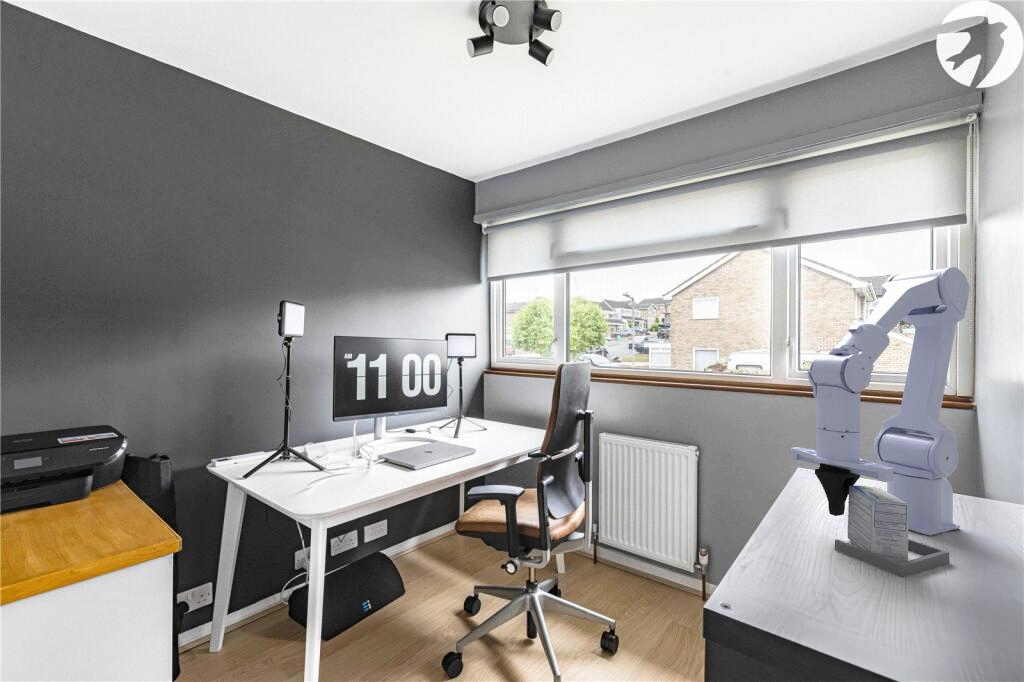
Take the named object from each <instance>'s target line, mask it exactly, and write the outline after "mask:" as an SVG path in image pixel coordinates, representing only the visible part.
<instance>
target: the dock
mask: <svg viewBox="0 0 1024 682" xmlns="http://www.w3.org/2000/svg"><path fill="white" fill-rule="evenodd" d="M834 551H836V552H839V553H842V554H844V555H847V556H849V557H851V558H854V559H856V560H859V561H861V562H864V563H866V564H869V565H871V566H873V567H877V568H878V569H880V570H884V571H886V572H889V573H892V574H894V575H897V576H899V577H902V578H905V577H909V576H911V575H914V574H917V573H918V574H919V573H920V572H921V573H922V572H924V571H927V570H931V569H934V568H937V567H940V566H944V565H948V564H950V551H947V550H944V549H940V548H937V547H935V546H932V545H930V544H926V543H923V542H919V541H916V540H914V539H911V538H908V551H911V552H913V553H916V554H918V555H921V556H919V557H916V558H912V559H908V561H905V562H902V563H899V562H896V561H894V560H891V559H888V558H886V557H883V556H881V555H878V554H875V553H873V552H870V551H867V550H865V549H862V548H859V547H857V546H856V545H855V544H851V543H849V542H846V541H843V540H841V539H838V538H837V539H834Z"/></svg>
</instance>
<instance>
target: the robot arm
mask: <svg viewBox="0 0 1024 682" xmlns="http://www.w3.org/2000/svg"><path fill="white" fill-rule="evenodd" d="M970 288H971V287H970V284H969V282H968V278H967V277H966V275H965V273H964V272H963V271H962V270H961V269H959V268H958V267H956V266H951V267H946V268H943V269H934V270H928V271H921V272H920V271H919V272H912V273H905V274H903V273H902V274H899V273H898V274H892V275H891V276H889V277H888V278H887V280H886V282H884V283H883V284H882V286H881V295H882V296H881V300H880V301H879V302H878V304H877V305H876V307H875V308H874V309H873V310H872V312H871V314H870V315H869V317H868V318H867V320H866V321H865V322H861V323H856V324H852V325H850V326H849V328H848V329H847V332H846V333H845V334H844V336H842V338H841V339H840V340H839V341H838V342H837V344H835V345H834V347H832V349H831V350H830V352H828V354H822V355H819V356H818V357H817V358H815V359H814V360H813V361H812V362H811V364H810V367H809V370H808V371H807V378H808V381H809V383H810V385H811V387H812V396H813V397H814V399H816V425H815V427H816V438H815V439H816V443H815V444H816V447H815V449H816V450H815V449H810V448H806V447H805V448H804V447H799V446H797V447H790V460H795V461H802V462H807V463H811V464H815V465H819V467H818V468H815V469H814V474H815V476H816V477H817V479H818V480H819V482H820V484H821V486H822V488H823V491H824V493H825V496H826V499H827V502H828V513H829V515H831V516H835V517H836V516H844V515H845V510H846V509H845V508H846V501H847V499H848V498H849V486H850V485H851V486H855V485H856V483H857V482H858V480H860V477H861V476H864V477H868V478H872V479H875V480H877V481H879V482H883V483H886V491H887V492H888V493H890V494H892V495H894V496H895V497H897V498H899V499H901V500H902V501H904V502H906V503H907V504H908V505H909V530H910V531H913V532H916V533H920V534H923V535H926V536H934V535H937V534H941V533H946V532H948V531H952V530H957V529H960V528H961V525H960V524H959V523H954V513H953V512H954V507H953V506H954V489H953V487H952V484H951V483H950V481H949V480H948V479H947V478H948V477H949V476H950V475H951V474H952V473H954V472H955V470H956V469H957V467H958V464H959V452H958V435H957V434H956V432H955V431H954V430H952V428H950V427H949V426H948V425H946V424H945V423H944V422H942V421H941V420H940V416H941V410H942V405H943V401H944V394H945V389H946V384H947V378H948V373H949V367H950V361H951V358H952V351H953V345H954V340H955V334H956V330H957V323H959V322H960V321H962V320H964V319H965V317H966V311H967V308H968V302H969V297H970V291H971V289H970ZM901 321H902V322H904V323H907V324H910V325H913V327H914V329H915V332H914V336H913V342H912V347H911V353H910V358H909V363H908V368H907V374H906V378H905V382H904V383H905V384H904V389H903V393H902V394H903V395H902V399H901V403H900V409H899V413H897V414H895V415H893V416H891V417H889V418H886V419H885V420H883V421H882V424H881V427H880V430H879V433H878V434H877V436H876V437H875V439H874V443H873V451H874V454H875V457H876V459H877V460H878V461H879V463H876V462H873V461H869V460H867V459H862V458H861V392H863V391H864V390H865V389H866V388H868V387H869V385H870V382H871V379H872V372H873V371H874V367H875V365H874V364H875V362H877V360H878V359H879V357H880V356H881V355H882V354H883V353H884V351H885V350H886V349H887V348H888V346H889V345H890V343H891V341H890V337H889V335H888V334H889V333H890V332H891V331H893V329H894V328H896V327H897V325H898V324H899V323H901ZM931 436H932V437H931ZM880 463H881V464H880Z"/></svg>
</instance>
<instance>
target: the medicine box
mask: <svg viewBox="0 0 1024 682" xmlns="http://www.w3.org/2000/svg"><path fill="white" fill-rule="evenodd" d="M847 506H848V508H847V509H848V510H847V511H848V512H847V514H848V515H847V539H848V540H849V541H850V542H851V543H853V545H854V546H857V547H859V548H862V549H865V550H867V551H870V552H873V553H875V554H878V555H881V556H883V557H886V558H888V559H891V560H894V561H896V562H899V563H902V562H905V561H909V550H908V539H909V505H908V504H907V503H906V502H904V501H902V500H901V499H899V498H897V497H895V496H894V495H892V494H890V493H888V492H887V490H885V489H883V488H880V487H875V486H868V485H867V486H866V485H854V486H851V485H850V486H849V494H848V505H847Z"/></svg>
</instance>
